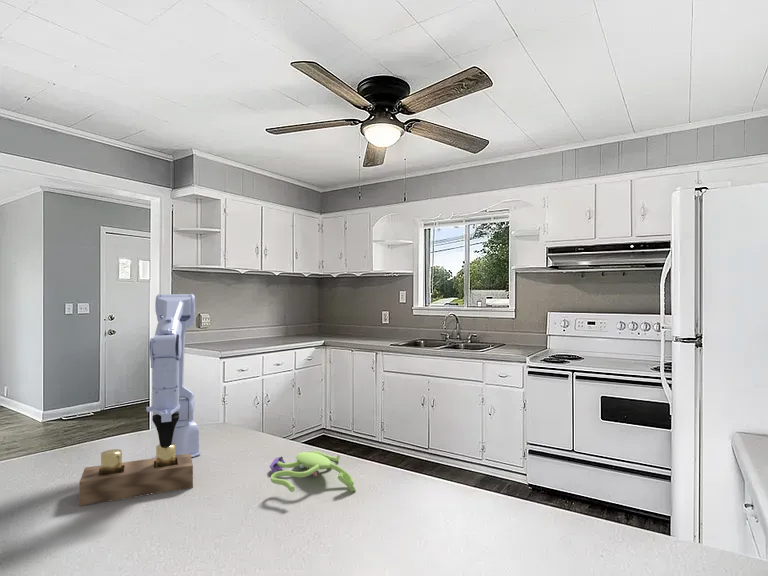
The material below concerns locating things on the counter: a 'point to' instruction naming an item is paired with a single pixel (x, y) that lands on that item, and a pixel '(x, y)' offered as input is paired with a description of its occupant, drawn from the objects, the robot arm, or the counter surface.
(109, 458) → the peg
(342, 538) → the counter surface
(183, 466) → the block
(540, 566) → the counter surface
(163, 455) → the peg
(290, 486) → the figurine
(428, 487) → the counter surface
